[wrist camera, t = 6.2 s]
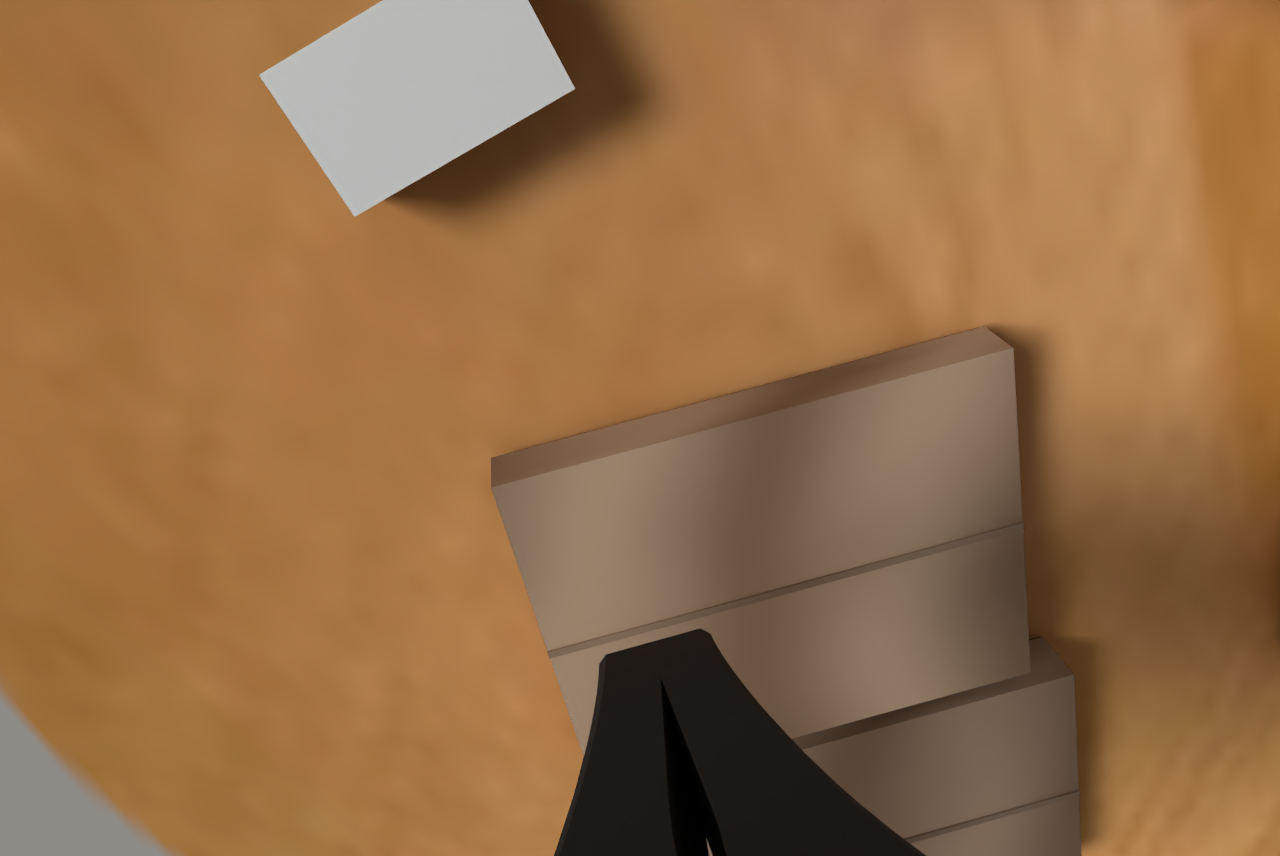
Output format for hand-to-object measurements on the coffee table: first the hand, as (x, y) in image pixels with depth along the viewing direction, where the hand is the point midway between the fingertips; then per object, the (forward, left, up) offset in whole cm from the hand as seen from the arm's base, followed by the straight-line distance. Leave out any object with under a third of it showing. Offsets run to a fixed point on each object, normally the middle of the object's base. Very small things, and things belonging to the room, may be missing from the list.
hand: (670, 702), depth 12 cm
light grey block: (+1, -7, -8) cm, 11 cm away
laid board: (-4, +12, -8) cm, 14 cm away
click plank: (-3, +4, -8) cm, 9 cm away
